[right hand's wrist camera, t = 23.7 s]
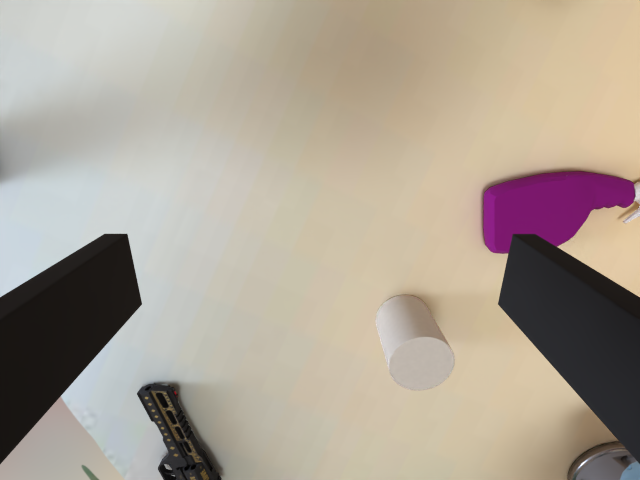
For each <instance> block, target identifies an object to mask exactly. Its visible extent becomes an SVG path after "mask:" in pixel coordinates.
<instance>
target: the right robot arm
mask: <svg viewBox="0 0 640 480" xmlns="http://www.w3.org/2000/svg"><path fill="white" fill-rule="evenodd" d="M141 305H142V302H141V297H140V293H139V288H138V283H137V278H136V273H135V269H134V264H133V259H132V254H131V249H130V245H129V240H128V235H127V234H104V235H102V236H101V237H99V238H97V239H96V240H94V241H92V242H91V243H89V244H87V245H86V246H84V247H82V248H81V249H79V250H78V251H76V252H74V253H73V254H71V255H69V256H68V257H66V258H64V259H63V260H61V261H59V262H58V263H56V264H54V265H53V266H51V267H50V268H48V269H46V270H45V271H43V272H41V273H40V274H38V275H36V276H35V277H33V278H31V279H30V280H28V281H27V282H25V283H23V284H22V285H20V286H18V287H17V288H15V289H13V290H12V291H10V292H8V293H7V294H5V295H3V296H2V297H0V464H1V463H2V462H3V460H4V459H5V458H6V457H7V456H8V455H9V454H10V452H11V451H12V450H13V449H14V448H15V447H16V446H17V445H18V444H19V442H20V441H21V440H22V439H23V438H24V437H25V436H26V435H27V433H28V432H29V431H30V430H31V429H32V428H33V427H34V425H35V424H36V423H37V422H38V421H39V420H40V419H41V418H42V416H43V415H44V414H45V413H46V412H47V411H48V410H49V409H50V407H51V406H52V405H53V404H54V403H55V402H56V401H57V399H58V398H59V397H60V396H61V395H62V394H63V393H64V392H65V390H66V389H67V388H68V387H69V386H70V385H71V384H72V383H73V381H74V380H75V379H76V378H77V377H78V376H79V375H80V374H81V372H82V371H83V370H84V369H85V368H86V367H87V366H88V364H89V363H90V362H91V361H92V360H93V359H94V358H95V357H96V355H97V354H98V353H99V352H100V351H101V350H102V349H103V348H104V346H105V345H106V344H107V343H108V342H109V341H110V340H111V339H112V337H113V336H114V335H115V334H116V333H117V332H118V331H119V329H120V328H121V327H122V326H123V325H124V324H125V323H126V322H127V320H128V319H129V318H130V317H131V316H132V315H133V314H134V313H135V311H136V310H137V309H138V308H139V307H140V306H141ZM498 305H499V306H500V307H501V308H502V309H503V310H504V311H505V313H506V314H507V315H508V316H509V317H510V318H511V319H512V320H513V322H514V323H515V324H516V325H517V326H518V327H519V328H520V329H521V331H522V332H523V333H524V334H525V335H526V336H527V337H528V339H529V340H530V341H531V342H532V343H533V344H534V345H535V346H536V348H537V349H538V350H539V351H540V352H541V353H542V354H543V355H544V357H545V358H546V359H547V360H548V361H549V362H550V363H551V364H552V366H553V367H554V368H555V369H556V370H557V371H558V372H559V374H560V375H561V376H562V377H563V378H564V379H565V380H566V381H567V383H568V384H569V385H570V386H571V387H572V388H573V389H574V390H575V392H576V393H577V394H578V395H579V396H580V397H581V398H582V400H583V401H584V402H585V403H586V404H587V405H588V406H589V407H590V409H591V410H592V411H593V412H594V413H595V414H596V415H597V416H598V418H599V419H600V420H601V421H602V422H603V423H604V424H605V425H606V427H607V428H608V429H609V430H610V431H611V432H612V433H613V435H614V436H615V437H616V438H617V439H618V440H619V441H620V442H621V444H622V445H623V446H624V447H625V448H626V449H627V450H628V451H629V453H630V454H631V455H632V456H633V457H634V458H635V459H636V460H637V462H638V463H639V464H640V297H638V296H637V295H635V294H633V293H632V292H630V291H628V290H627V289H625V288H623V287H622V286H620V285H618V284H617V283H615V282H613V281H612V280H610V279H609V278H607V277H605V276H604V275H602V274H600V273H599V272H597V271H595V270H594V269H592V268H590V267H589V266H587V265H586V264H584V263H582V262H581V261H579V260H577V259H576V258H574V257H572V256H571V255H569V254H567V253H566V252H564V251H562V250H561V249H559V248H558V247H556V246H554V245H553V244H551V243H549V242H548V241H546V240H544V239H543V238H541V237H539V236H538V235H536V234H513V235H512V240H511V245H510V249H509V254H508V259H507V264H506V269H505V273H504V278H503V283H502V288H501V293H500V297H499V302H498Z"/></svg>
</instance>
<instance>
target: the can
mask: <svg viewBox="0 0 640 480" xmlns="http://www.w3.org/2000/svg"><path fill="white" fill-rule="evenodd" d="M376 326H377V330H378V333H379V337H380V340H381V344H382V347H383V351H384V354H385V358H386V361H387V365H388V369H389V372H390V375H391V377H392V378H393V380H394V381H395V382H396V383H397V384H399V385H400V386H402V387H404V388H407V389H410V390H426V389H430V388H433V387H436V386H437V385H439V384H441V383H442V382H443V381H445V380H446V379H447V378H448V377H449V375H450V374H451V372H452V370H453V367H454V361H455V359H454V354H453V351H452V349H451V348H450V346H449V344H448V342H447V341H446V339H445V337H444V335H443V334H442V332H441V330H440V328H439V326H438V325H437V323H436V321H435V319H434V318H433V316H432V314H431V312H430V311H429V309H428V307H427V305H426V304H425V303H424V302H423V301H422V300H421V299H419V298H417V297H415V296H411V295H399V296H395V297H392V298H390V299H389V300H387V301H386V302H384V303H383V304H382V305H381V307H380V308H379V310H378V312H377V314H376Z"/></svg>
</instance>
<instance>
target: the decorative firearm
mask: <svg viewBox="0 0 640 480" xmlns="http://www.w3.org/2000/svg"><path fill="white" fill-rule="evenodd" d="M137 395H138V397H139V399H140V400H141V402H142V404H143V406H144V408H145V410H146V412H147V414H148V415H149V417H150V419H151V421H152V422H153V421H154V422H155V424H156V425H157V426H158V428H159V430H160V432H161V434H162V436H163V442H164V443H165V445H166V447H167V449H168V451H169V453H168V454H167V455H166V456H165V457H164V458H163V459H162V461H161V463H160V465H159V467H158V470H159V472H160V474H161V476H162V477H163V479H164V480H222V479H221V477H220V476H219V473H216V471H215V469H214V467H213V465H212V463H211V462H210V460H209V458H208V457H207V455H206V453H205V451H203V450H202V449H201V448H200V446H199V444H198V442H197V440H196V438H195V436H194V434H193V431H191V427H190V426H189V425H188V424H189V423H188V421H186V417H185V416H184V415H183V411H182V410H181V408H180V406H179V403H178V399H177V394H176V392H175V389H174V388H173V387H170V386H165V385H155V384H150V385H146V386H145V387H142V388H141V389H140V390H139V391H138V393H137ZM164 464H169V466H170V467H171V468H172V470H168V469H166V467H165V466H164ZM172 475H175V477H174V476H172Z"/></svg>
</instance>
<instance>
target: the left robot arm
mask: <svg viewBox="0 0 640 480" xmlns="http://www.w3.org/2000/svg"><path fill="white" fill-rule="evenodd" d="M568 480H640V464H639V463H638V462H637V460H636V459H635V458H634V457H633V456H632V455H631V454H630V453H629V451H628V450H627V449H626V448H625V447H624V446H623V445H622V444H621V442H613V443H607V444H603V445H600V446H597V447H594V448H592V449H590V450H588V451H587V452H585V453H584V454H582V455H581V456H580V457H579V458H578V459H577V460H576V461H575V462H574V463H573V464H572V466H571V468H570V470H569V473H568Z"/></svg>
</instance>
